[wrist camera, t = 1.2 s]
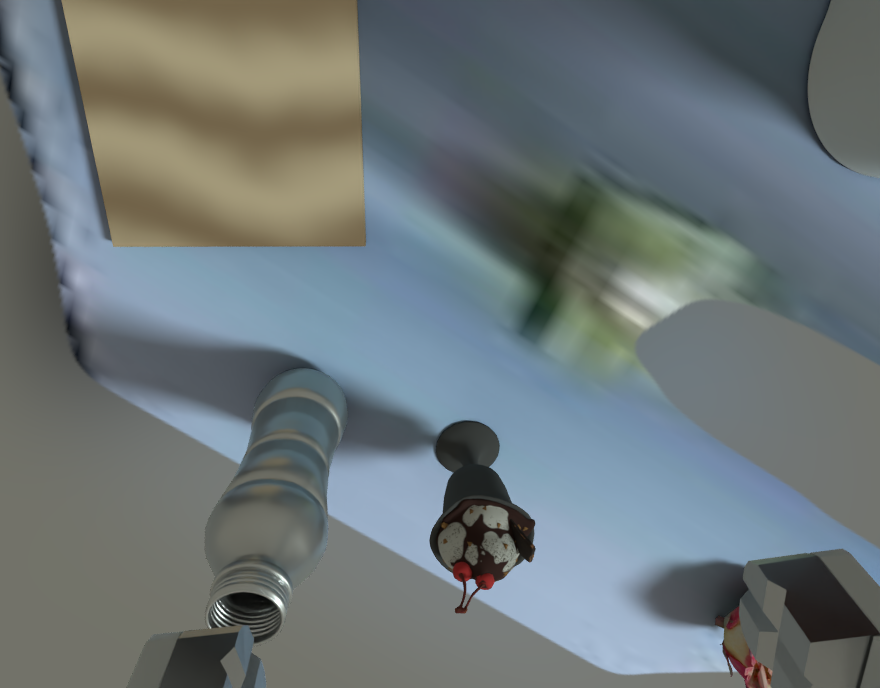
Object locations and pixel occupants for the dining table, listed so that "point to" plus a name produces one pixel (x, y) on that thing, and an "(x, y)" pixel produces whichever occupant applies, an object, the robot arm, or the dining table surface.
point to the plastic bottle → (275, 504)
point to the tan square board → (223, 119)
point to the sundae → (478, 512)
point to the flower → (742, 653)
